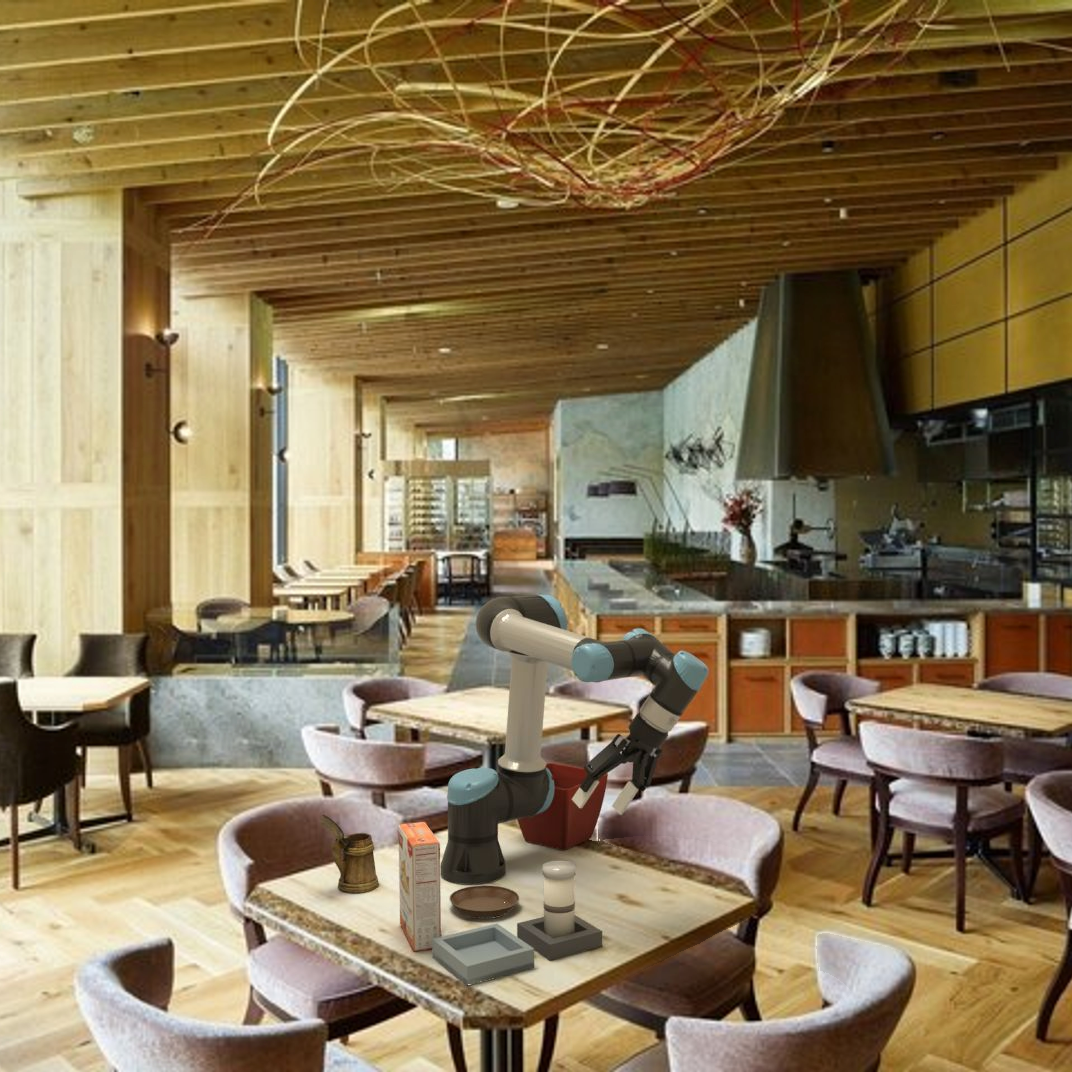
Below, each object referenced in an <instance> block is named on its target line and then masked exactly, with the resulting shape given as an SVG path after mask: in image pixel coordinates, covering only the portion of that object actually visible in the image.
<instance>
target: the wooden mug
mask: <svg viewBox="0 0 1072 1072" xmlns="http://www.w3.org/2000/svg"><path fill="white" fill-rule="evenodd" d="M321 821H322V823H323V825H324V826H325V827H326V828H327V829H328V830H329V832H330V833H331V834H332V835H333V836H334V837H335V840H334V843H333V846H332V858H333V862H334V863H335V865H336V867H337V869H338V870H339V873H340V874H339V875H340V876H339V878H338V883H337V888H338V889H339V890H340V891H342V892H343V893H347V894H364V893H369V892H372V891H373V890H375V889H376V888H378V886H379V885H380V883H379V877H378V875H377V870H376V869H377V868H376V862H375V858H374V857H375V856H374V851H375V845H374V842H373V839H372V835H371V834H369V833H366V832H356V833H352V834H351V833H350V834H349V835H347V836H345V833H344V831H343V829H342V828H341V827H340V826H339V825H338V824H337V823H336V822H335V821H334V820H333V819H331V818H330V817H329V816H327V815H325V814H323V815H322V816H321ZM341 852H342V858H341Z"/></svg>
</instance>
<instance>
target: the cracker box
mask: <svg viewBox="0 0 1072 1072" xmlns="http://www.w3.org/2000/svg"><path fill="white" fill-rule="evenodd" d="M397 828H398V874H399V875H398V878H399V879H398V880H399V882H398V885H399V924H400V926H401V928H402V930H403V933H404V935H405V937H406V938H407V941H408V943H409V945H410V947H411V950H412V951H413V952H420V951H426V950H427V951H428V950H432V939H434V938H438V937H442V916H441V915H442V914H441V910H442V909H441V901H442V900H441V897H442V896H441V843H440V841H439V839H438V838H437V837H436V836H435V834H434V833H433V831H432V830H431V829H430V828H429V826H428V825H427V822H425V821H419V822H406V823H401V824H398V826H397Z"/></svg>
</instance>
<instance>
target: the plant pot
mask: <svg viewBox="0 0 1072 1072" xmlns="http://www.w3.org/2000/svg"><path fill="white" fill-rule="evenodd" d="M546 767H547V768H548V769H549V771H550V772H551V774H552V780H554V796H553V800H552V802H551V804H550V806H549V807H548V808H547V809H546V810H545V811H544V812H542V813H540V814H536V815H534V816H532V817H529V818H527V817H526V818H521V819H517V820H516V821H517V822H518V823H517V824H518V826H519V829H520V831H521V835H523V838H524V841H525V842H528V843H531V844H535V845H540V846H544V847H548V848H551V849H555V850H559V851H566V850H569V849H571V848H573V847H575V846H577V845H579V844H581V843H583V842H585V841H588V840H589V839H592V837H593V835H594V833H595V830H596V826H597V825H598V820H599V817H600V815H601V810H602V807H603V805H604V804H603V803H604V798H605V794H606V790H607V783H608V777H609V772H608V773H607V774H605V775H604V776H602V777H601V778H599V779H598V781H599V784H598V785H597V787H596V788H595V790H594V791H593V793H592V794H591V796H590V797H589V799H588V800H587V802H586V803H585V805H584V806H583V808H579V807H578V806H577V805H576V804H575V803H574V801H573V800H572V798H573V797H574V795H575V794H576V792H577V791H578V789H579V788H580V785H581V784H582V782H583V781H584V779H585V778H586V776H587V774H588V773H587V772H586V771H585V770H584V767H577V766H573V765H567V764H561V763H557V762H556V763H555V762H546Z"/></svg>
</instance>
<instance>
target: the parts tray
mask: <svg viewBox="0 0 1072 1072" xmlns="http://www.w3.org/2000/svg"><path fill="white" fill-rule="evenodd" d="M431 951H432V952H431V953H432V955H431V956H432V958H433V959H434V960H435V961H436V962H437V963H439V964H440V965H442V967H443V968H445V969H446V970H447V971H448V972H449V973H451V974H452V975H453V976H454V977H456V978H457V979H458V978H459V979H460V980H461V981H460V980H459V979H458V980H459V981H460V982H462V981H463V982H464V983H465V984H466V985H468V984H473V983H476V984H479V983H478V982H480V981H484V982H486V981H485V980H487V981H490V980H489V979H491V980H493V979H492V978H495V979H497V977H498V978H501V976H502V977H505V976H509V975H513V974H516V973H520V972H524V971H527V970H530V969H535V950H534V948H532V947H531V946H529V945H528V944H527V943H525V942H524V941H522V940H521V939H519V938H518V937H517V935H515V934H514V933H512V932H510V931H509V930H507V929H506V928H505V927H504V926H501V925H500V924H499V923H492V924H489V925H484V926H480V927H476V928H472V929H468V930H463V931H460V932H454V933H451V934H447V935H443V936H442V935H441V937H438V938H434V939H432V949H431ZM463 982H462V983H463ZM464 983H463V984H464ZM480 983H481V982H480ZM465 984H464V985H465ZM466 985H465V986H466ZM473 985H474V984H473Z"/></svg>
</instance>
